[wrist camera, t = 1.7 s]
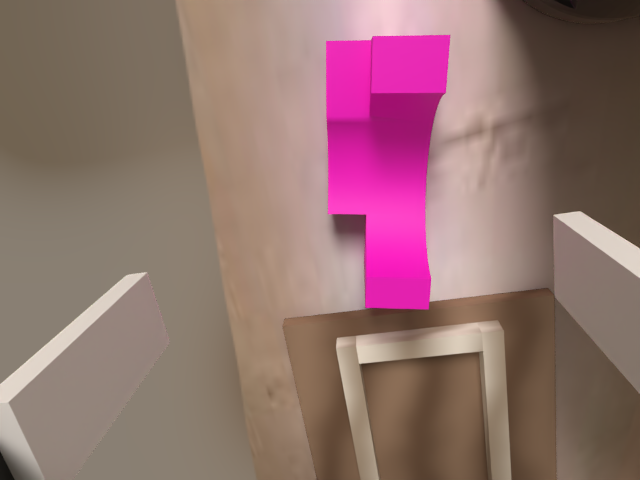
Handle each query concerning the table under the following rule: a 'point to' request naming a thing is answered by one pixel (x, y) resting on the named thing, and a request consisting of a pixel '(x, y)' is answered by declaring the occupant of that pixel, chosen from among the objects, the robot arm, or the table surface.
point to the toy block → (385, 154)
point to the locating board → (430, 389)
